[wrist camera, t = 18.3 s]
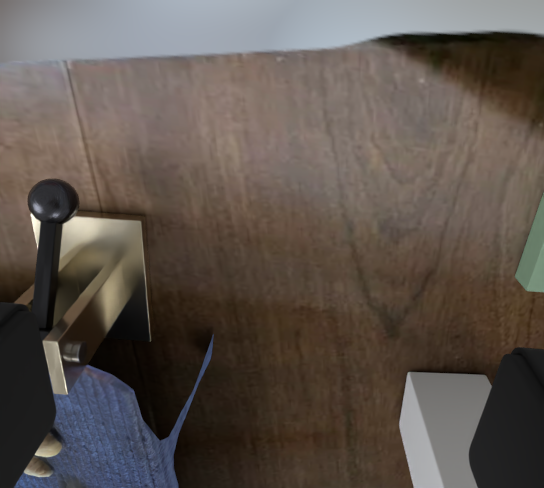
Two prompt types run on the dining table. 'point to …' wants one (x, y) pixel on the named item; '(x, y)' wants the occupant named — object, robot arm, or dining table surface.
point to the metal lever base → (96, 291)
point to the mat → (104, 439)
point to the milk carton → (441, 426)
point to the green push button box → (533, 255)
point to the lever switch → (49, 244)
